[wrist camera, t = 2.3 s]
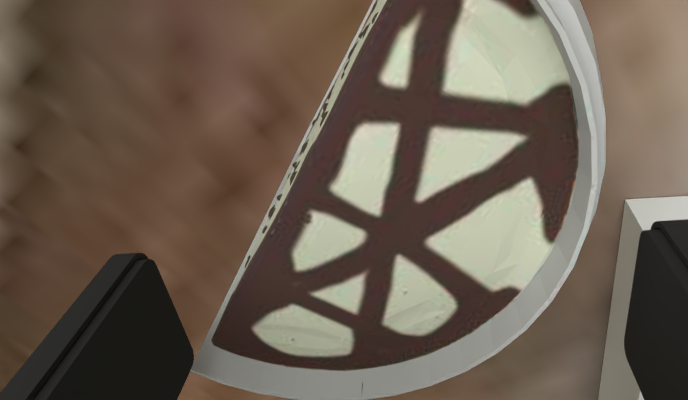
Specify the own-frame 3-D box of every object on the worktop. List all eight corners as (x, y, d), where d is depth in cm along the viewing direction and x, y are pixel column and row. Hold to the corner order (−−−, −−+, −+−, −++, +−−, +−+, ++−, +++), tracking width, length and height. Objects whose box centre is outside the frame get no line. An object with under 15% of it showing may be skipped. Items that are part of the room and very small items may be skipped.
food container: (412, 246, 22) (398, 475, 14) (281, 181, 21) (183, 383, 13) (623, -33, 16) (842, 86, 7) (445, -142, 15) (458, -153, 6)
